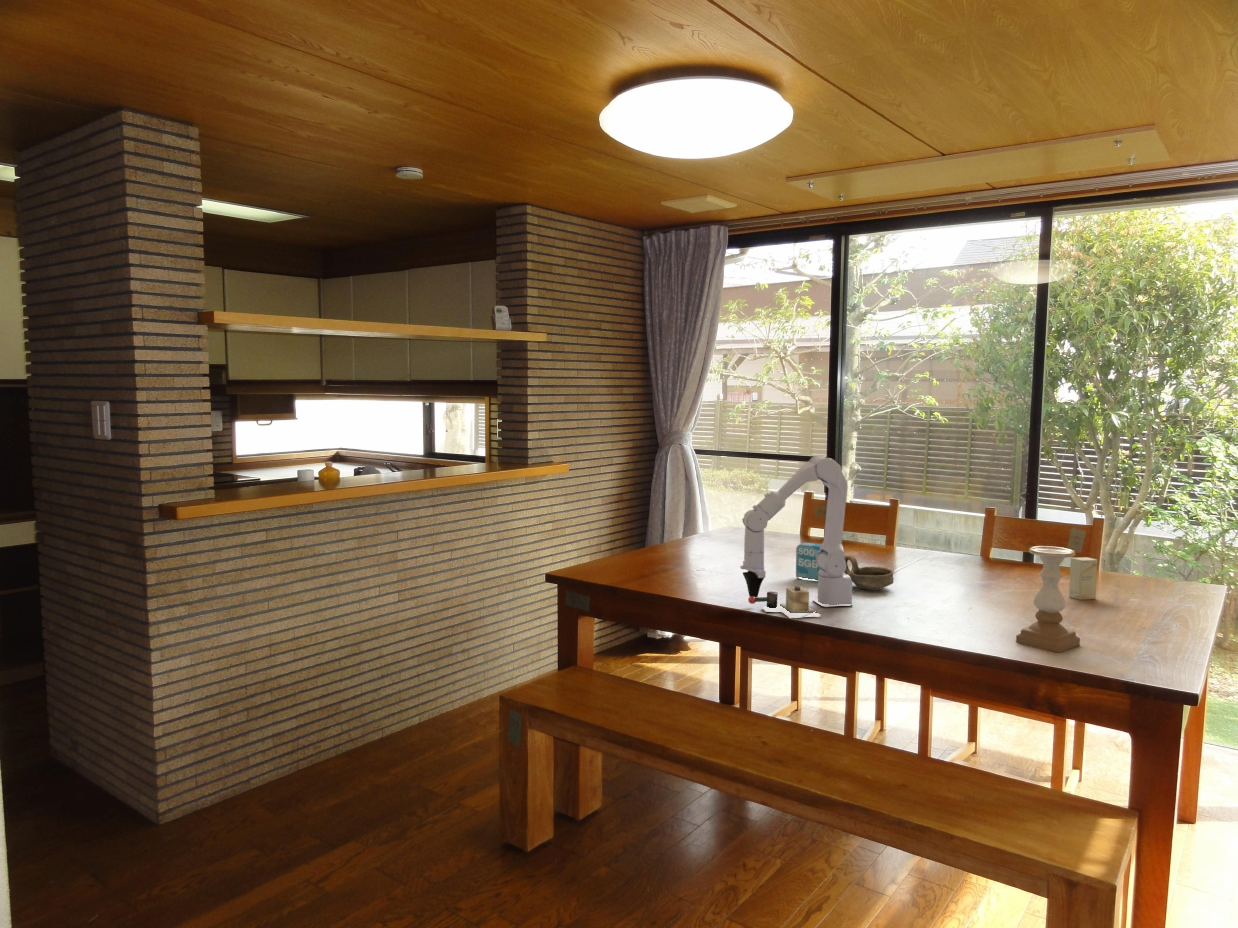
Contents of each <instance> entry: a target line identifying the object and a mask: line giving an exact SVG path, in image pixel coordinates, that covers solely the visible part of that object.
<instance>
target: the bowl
mask: <svg viewBox="0 0 1238 928" xmlns="http://www.w3.org/2000/svg"><path fill="white" fill-rule="evenodd" d="M844 559H845V561H846V570H845V572H844V573H843V574H847V575H849V576H850V578H851V581H852V584H854V585H855V586H856V587H858V588H860V589H863V590H867V589H868V590H867V591H877V589H878V590H883V588H884V589H885V588H886V587H888V586H891V585H893V584H894V580H895V579H894V573H895V571H894V570H893V569H891V568H889V567H884V566H873V565H871V566H862V567H859V564H858V561H857V560H858V559H856V557H855V556H854V555H852V554H847V555H844ZM848 561H850V563H851V570H850V568H849V565H848Z"/></svg>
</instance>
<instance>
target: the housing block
mask: <svg viewBox="0 0 1238 928" xmlns="http://www.w3.org/2000/svg"><path fill="white" fill-rule="evenodd" d="M809 601H810V591H808V590H807V589H805V588H804V587H802V586H798V585H797V586H796V585H795V586H794V587H786V588H785V604H786V605H787V606H788V607H790V608H791V609H793V610H801V609H809V607H810V605H809V604H810V602H809Z"/></svg>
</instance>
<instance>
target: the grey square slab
mask: <svg viewBox="0 0 1238 928" xmlns="http://www.w3.org/2000/svg"><path fill="white" fill-rule="evenodd" d="M780 606H782V607H783V608H785V609H786V610H787V611H789V612H790V613H813V612H815V611H816V612H815V613H819V614H821V613H820V612H818V611H817V610H816V609H814V608H812V607H811V606H809V609H801V610H793V609H791V608H790V607H788V606H787V605H786V603H780Z"/></svg>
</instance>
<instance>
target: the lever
mask: <svg viewBox="0 0 1238 928" xmlns="http://www.w3.org/2000/svg"><path fill="white" fill-rule="evenodd" d="M747 600H748V603H749V604H750V605H751V604H752V605H753V604H756V603H760V602H761V603H762V602H766V606H767V607H769V608H776V607H777V604H778V592H777V591H767V592H766V596H764V597H761V596H759V597H754V596H749V597H748V599H747Z"/></svg>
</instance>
